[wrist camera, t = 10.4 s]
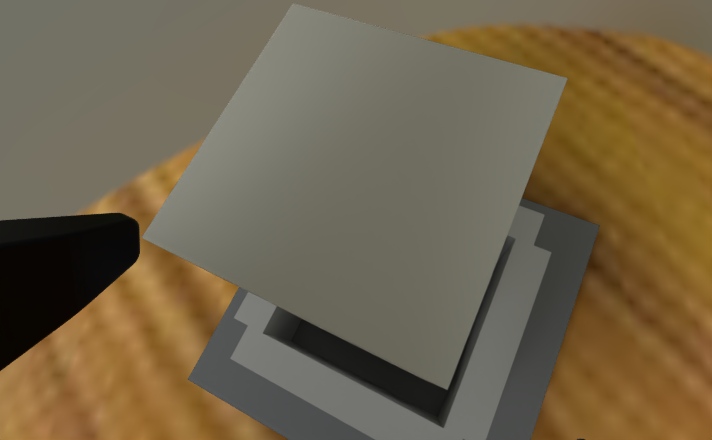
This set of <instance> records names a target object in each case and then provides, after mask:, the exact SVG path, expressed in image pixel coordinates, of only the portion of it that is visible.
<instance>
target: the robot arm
mask: <svg viewBox="0 0 712 440" xmlns="http://www.w3.org/2000/svg"><path fill="white" fill-rule="evenodd" d="M139 254H140V235H139V224H138V222H137V221H136V220H135V219H133V218H131V217H129V216H127V215H125V214H122V213H106V214H91V215H76V216H61V217H47V218H31V219H17V220H2V221H0V371H1V370H2V369H4V368H5V367H6V366H8V365H9V364H10V363H12V362H13V361H14V360H16V359H17V358H19V357H20V356H21V355H23V354H24V353H25V352H27V351H28V350H29V349H31V348H32V347H33V346H35V345H36V344H37V343H39V342H40V341H41V340H43V339H44V338H45V337H47V336H48V335H49V334H51V333H52V332H53V331H55V330H56V329H58V328H59V327H60V326H62V325H63V324H64V323H66V322H67V321H68V320H70V319H71V318H72V317H73V316H75V315H76V314H77V313H79V312H80V311H81V310H82V309H83V308H84V307H86V306H87V305H88V304H89V303H90V302H91V301H92V300H94V299H95V298H96V297H97V296H98V295H99V294H100V293H101V292H103V291H104V290H105V289H106V288H107V287H108V286H109V285H111V284H112V283H113V282H114V281H115V280H116V279H117V278H118V277H120V276H121V275H122V274H123V273H124V272H125V271H126V270H127V269H129V268H130V267H131V266H132V265H133V264H134V263H135V262H136V261H137V259H138V257H139ZM577 440H585V439H577Z"/></svg>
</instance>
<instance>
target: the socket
mask: <svg viewBox="0 0 712 440" xmlns="http://www.w3.org/2000/svg"><path fill="white" fill-rule="evenodd" d="M598 230H599V225H597V224H594V223H591V222H588V221H585V220H583V219H580V218H577V217H574V216H571V215H569V214H566V213H563V212H560V211H557V210H554V209H552V208H549V207H546V206H543V205H540V204H538V203H535V202H532V201H529V200H526V199H524V198H521V201H520V203H519V206H518V209H517V211H516V214H515V216H514V219H513V221H512V224H511V227H510V229H509V232H508V234H507V237H506V240H505V242H504V245H503V247H502V250H501V253H500V255H499V258H498V260H497V263H496V266H495V268H494V271H493V273H492V276H491V279H490V281H489V284H488V286H487V289H486V292H485V294H484V297H483V299H482V302H481V304H480V307H479V310H478V312H477V315H476V317H475V320H474V323H473V325H472V328H471V330H470V333H469V336H468V338H467V341H466V343H465V346H464V349H463V351H462V354H461V356H460V359H459V362H458V364H457V367H456V369H455V372H454V375H453V377H452V380H451V382H450V385H449V387H448V390H446V389H444V388H442V387H439V386H437V385H435V384H433V383H430V382H428V381H426V380H423V379H421V378H419V377H417V376H415V375H413V374H411V373H409V372H407V371H405V370H403V369H401V368H399V367H397V366H395V365H393V364H391V363H389V362H387V361H385V360H383V359H381V358H379V357H377V356H375V355H373V354H371V353H369V352H367V351H365V350H363V349H361V348H359V347H357V346H355V345H353V344H351V343H349V342H347V341H345V340H343V339H341V338H339V337H337V336H335V335H333V334H331V333H329V332H327V331H325V330H323V329H321V328H319V327H317V326H315V325H313V324H311V323H309V322H307V321H305V320H303V319H301V318H299V317H297V316H296V315H294V314H292V313H290V312H288V311H286V310H284V309H282V308H280V307H278V306H276V305H274V304H272V303H270V302H268V301H266V300H264V299H262V298H260V297H258V296H256V295H254V294H252V293H250V292H248V291H246V290H244V289H242V288H240V287H239V289H238V290H237V292H236V294H235V296H234V297H233V299H232V301H231V303H230V305H229V306H228V308H227V310H226V312H225V314H224V315H223V317H222V319H221V321H220V323H219V324H218V326H217V328H216V330H215V332H214V333H213V335H212V337H211V339H210V340H209V342H208V344H207V346H206V348H205V349H204V351H203V353H202V355H201V357H200V358H199V360H198V362H197V364H196V366H195V367H194V369H193V371H192V373H191V374H190V376H189V378H188V380H189V381H191V382H193V383H194V384H196V385H198V386H199V387H201V388H203V389H205V390H206V391H208V392H210V393H211V394H213V395H215V396H216V397H218V398H220V399H221V400H223V401H225V402H226V403H228V404H230V405H231V406H233V407H235V408H237V409H238V410H240V411H242V412H243V413H245V414H247V415H248V416H250V417H252V418H253V419H255V420H257V421H258V422H260V423H262V424H263V425H265V426H267V427H269V428H270V429H272V430H274V431H275V432H277V433H279V434H280V435H282V436H284V437H285V438H287V439H289V440H531V437H532V434H533V431H534V427H535V424H536V421H537V418H538V415H539V412H540V409H541V406H542V403H543V400H544V397H545V393H546V390H547V387H548V384H549V381H550V378H551V375H552V372H553V369H554V366H555V363H556V359H557V356H558V353H559V350H560V347H561V344H562V341H563V338H564V335H565V332H566V329H567V325H568V322H569V319H570V316H571V313H572V310H573V307H574V304H575V301H576V298H577V294H578V291H579V288H580V285H581V282H582V279H583V276H584V273H585V270H586V267H587V264H588V260H589V257H590V254H591V251H592V248H593V245H594V242H595V239H596V236H597V233H598Z"/></svg>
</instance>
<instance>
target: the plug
mask: <svg viewBox="0 0 712 440" xmlns="http://www.w3.org/2000/svg"><path fill="white" fill-rule="evenodd" d="M567 79H568V78H565V77H562V76H558V75H554V74H551V73H547V72H543V71H540V70H536V69H532V68H529V67H525V66H521V65H518V64H514V63H510V62H507V61H503V60H499V59H496V58H492V57H488V56H485V55H481V54H477V53H474V52H470V51H466V50H463V49H459V48H455V47H452V46H448V45H444V44H441V43H437V42H433V41H430V40H426V39H422V38H419V37H415V36H411V35H407V34H404V33H400V32H396V31H393V30H389V29H386V28H382V27H378V26H375V25H371V24H367V23H364V22H360V21H356V20H352V19H349V18H345V17H342V16H337V15H334V14H330V13H327V12H323V11H319V10H316V9H312V8H308V7H304V6H301V5H297V4H292V6H291V8H290V9H289V11H288V12H287V14H286V15H285V17H284V18H283V20H282V21H281V23H280V24H279V26H278V28H277V29H276V31H275V32H274V34H273V35H272V37H271V38H270V40H269V41H268V43H267V45H266V46H265V48H264V49H263V51H262V52H261V54H260V56H259V57H258V59H257V60H256V62H255V63H254V65H253V66H252V68H251V69H250V71H249V72H248V74H247V76H246V77H245V79H244V80H243V82H242V83H241V85H240V86H239V88H238V90H237V91H236V93H235V94H234V96H233V97H232V99H231V100H230V102H229V104H228V105H227V106H226V108H225V110H224V111H223V113H222V114H221V116H220V117H219V119H218V120H217V122H216V123H215V125H214V127H213V128H212V130H211V131H210V133H209V134H208V136H207V137H206V139H205V141H204V142H203V144H202V145H201V147H200V148H199V150H198V151H197V153H196V154H195V156H194V158H193V159H192V161H191V162H190V164H189V165H188V167H187V168H186V170H185V171H184V173H183V175H182V176H181V178H180V179H179V181H178V182H177V184H176V185H175V187H174V188H173V190H172V192H171V193H170V195H169V196H168V198H167V199H166V201H165V202H164V204H163V206H162V207H161V209H160V210H159V212H158V213H157V215H156V216H155V218H154V219H153V221H152V223H151V224H150V226H149V227H148V229H147V230H146V232H145V233H144V235H143V236H142V238H143V239H145V240H147V241H149V242H151V243H153V244H155V245H157V246H159V247H161V248H163V249H165V250H167V251H169V252H171V253H173V254H175V255H177V256H179V257H181V258H183V259H185V260H187V261H189V262H191V263H193V264H195V265H197V266H199V267H201V268H203V269H205V270H206V271H208V272H210V273H212V274H214V275H216V276H218V277H220V278H222V279H224V280H226V281H228V282H230V283H232V284H234V285H236V286H238V287H240V288H242V289H244V290H246V291H248V292H250V293H252V294H254V295H256V296H258V297H260V298H262V299H264V300H266V301H268V302H270V303H272V304H274V305H276V306H278V307H280V308H282V309H284V310H286V311H288V312H290V313H292V314H294V315H296V316H297V317H299V318H301V319H303V320H305V321H307V322H309V323H311V324H313V325H315V326H317V327H319V328H321V329H323V330H325V331H327V332H329V333H331V334H333V335H335V336H337V337H339V338H341V339H343V340H345V341H347V342H349V343H351V344H353V345H355V346H357V347H359V348H361V349H363V350H365V351H367V352H369V353H371V354H373V355H375V356H377V357H379V358H381V359H383V360H385V361H387V362H389V363H391V364H393V365H395V366H397V367H399V368H401V369H403V370H405V371H407V372H409V373H411V374H413V375H415V376H417V377H419V378H421V379H423V380H426V381H428V382H430V383H433V384H435V385H437V386H439V387H442V388H444V389H446V390H448V387H449V385H450V382H451V380H452V377H453V375H454V372H455V369H456V367H457V364H458V362H459V359H460V356H461V354H462V351H463V349H464V346H465V343H466V341H467V338H468V336H469V333H470V330H471V328H472V325H473V323H474V320H475V317H476V315H477V312H478V310H479V307H480V304H481V302H482V299H483V297H484V294H485V292H486V289H487V286H488V284H489V281H490V279H491V276H492V273H493V271H494V268H495V266H496V263H497V260H498V258H499V255H500V253H501V250H502V247H503V245H504V242H505V240H506V237H507V234H508V232H509V229H510V227H511V224H512V221H513V219H514V216H515V214H516V211H517V209H518V206H519V203H520V201H521V198H522V196H523V193H524V190H525V188H526V185H527V183H528V180H529V177H530V175H531V172H532V170H533V167H534V164H535V162H536V159H537V157H538V154H539V151H540V149H541V146H542V144H543V141H544V138H545V136H546V133H547V131H548V128H549V125H550V123H551V120H552V118H553V115H554V113H555V110H556V107H557V105H558V102H559V100H560V97H561V94H562V92H563V89H564V87H565V84H566V81H567Z"/></svg>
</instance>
